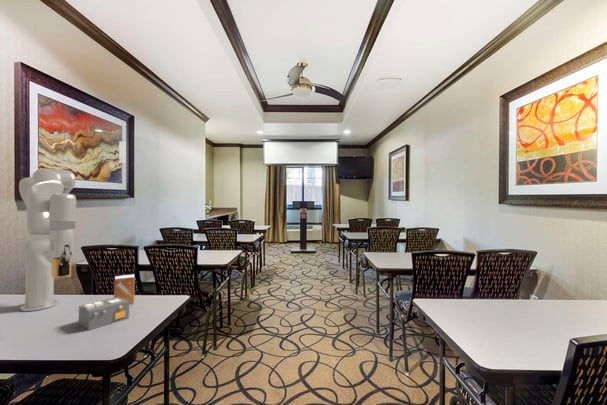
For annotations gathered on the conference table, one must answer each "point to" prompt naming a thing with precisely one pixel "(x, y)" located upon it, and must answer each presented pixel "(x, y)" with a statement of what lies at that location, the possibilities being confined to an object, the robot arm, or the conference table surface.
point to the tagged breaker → (114, 301)
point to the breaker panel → (103, 313)
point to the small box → (125, 287)
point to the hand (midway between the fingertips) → (61, 273)
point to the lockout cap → (55, 268)
